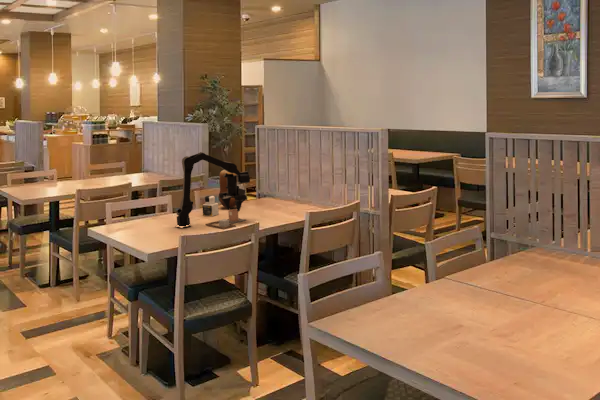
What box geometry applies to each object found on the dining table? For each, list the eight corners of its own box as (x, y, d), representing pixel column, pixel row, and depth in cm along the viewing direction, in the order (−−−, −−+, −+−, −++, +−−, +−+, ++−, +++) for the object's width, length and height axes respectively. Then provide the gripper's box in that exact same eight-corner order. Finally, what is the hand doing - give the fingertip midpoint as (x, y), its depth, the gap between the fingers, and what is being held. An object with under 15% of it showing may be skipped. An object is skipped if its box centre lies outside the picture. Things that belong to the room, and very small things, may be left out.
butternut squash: (244, 207, 392) (242, 169, 388) (228, 210, 383) (226, 172, 378) (230, 205, 402) (228, 168, 397) (214, 208, 392) (212, 170, 387)
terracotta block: (238, 219, 350) (238, 209, 349) (233, 221, 348) (232, 210, 346) (234, 219, 353) (233, 209, 352) (228, 220, 350) (228, 210, 349)
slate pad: (232, 223, 343) (232, 222, 343) (221, 221, 350) (221, 220, 350) (245, 220, 350) (245, 219, 350) (235, 218, 357) (234, 217, 357)
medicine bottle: (202, 215, 369) (201, 196, 367) (209, 213, 375) (208, 194, 373) (212, 216, 366) (210, 197, 364) (218, 214, 372) (217, 195, 370)
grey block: (224, 228, 333) (224, 221, 333) (219, 227, 336) (218, 220, 335) (229, 226, 337) (229, 219, 336) (224, 225, 339) (223, 219, 338)
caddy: (223, 229, 330) (223, 227, 330) (205, 225, 341) (205, 223, 341) (235, 226, 336) (235, 224, 336) (217, 222, 347) (217, 221, 347)
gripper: (253, 183, 346) (254, 210, 349) (232, 181, 359) (234, 206, 361) (238, 186, 338) (239, 213, 341) (217, 183, 351) (219, 209, 354)
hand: (233, 210), depth 349 cm, fingers open, 9 cm apart
